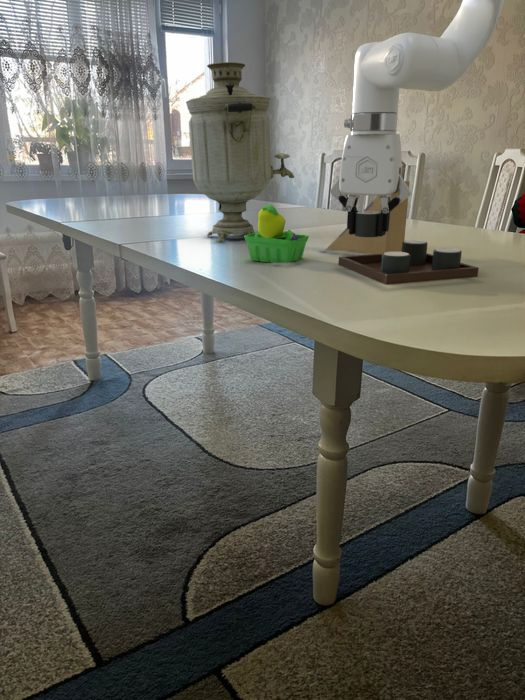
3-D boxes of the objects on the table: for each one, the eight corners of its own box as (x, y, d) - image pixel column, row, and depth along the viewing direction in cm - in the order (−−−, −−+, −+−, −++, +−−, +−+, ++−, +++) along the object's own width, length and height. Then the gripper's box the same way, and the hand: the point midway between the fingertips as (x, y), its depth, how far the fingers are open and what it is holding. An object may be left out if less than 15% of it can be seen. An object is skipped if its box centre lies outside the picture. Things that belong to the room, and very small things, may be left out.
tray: (477, 279, 92) (479, 267, 91) (385, 288, 87) (386, 275, 86) (418, 261, 108) (419, 251, 107) (338, 267, 103) (338, 256, 102)
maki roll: (384, 236, 97) (386, 212, 96) (361, 237, 96) (363, 213, 94) (372, 233, 101) (373, 210, 100) (350, 234, 100) (351, 211, 98)
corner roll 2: (430, 264, 102) (432, 242, 100) (409, 266, 100) (411, 244, 99) (416, 260, 106) (418, 239, 104) (396, 262, 105) (397, 240, 103)
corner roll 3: (464, 275, 93) (467, 251, 91) (441, 277, 91) (444, 252, 90) (448, 270, 97) (450, 247, 96) (426, 271, 96) (428, 248, 94)
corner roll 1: (414, 279, 90) (416, 254, 89) (389, 281, 89) (391, 256, 87) (399, 274, 94) (401, 250, 93) (375, 276, 93) (377, 252, 91)
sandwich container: (344, 245, 127) (347, 178, 122) (404, 252, 117) (410, 180, 112) (323, 250, 121) (325, 180, 116) (384, 258, 111) (390, 182, 106)
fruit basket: (310, 260, 110) (311, 203, 106) (288, 268, 103) (289, 206, 99) (262, 255, 116) (262, 200, 112) (239, 262, 109) (237, 204, 105)
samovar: (296, 247, 125) (299, 52, 112) (183, 247, 126) (173, 54, 112) (293, 230, 153) (295, 73, 140) (200, 230, 154) (193, 74, 140)
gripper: (319, 126, 93) (316, 234, 99) (419, 123, 85) (409, 240, 92) (334, 127, 99) (330, 229, 105) (429, 125, 92) (418, 234, 98)
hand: (367, 233), depth 98 cm, fingers closed on maki roll, 4 cm apart
